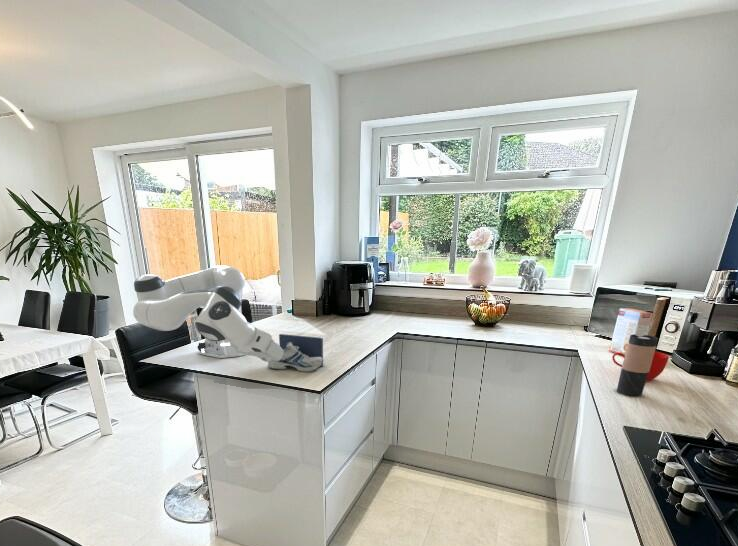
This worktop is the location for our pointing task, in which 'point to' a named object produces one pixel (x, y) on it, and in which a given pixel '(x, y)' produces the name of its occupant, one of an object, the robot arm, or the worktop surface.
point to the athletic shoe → (295, 360)
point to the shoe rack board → (304, 344)
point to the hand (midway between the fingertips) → (267, 359)
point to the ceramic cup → (652, 364)
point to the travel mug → (636, 365)
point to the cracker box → (629, 328)
